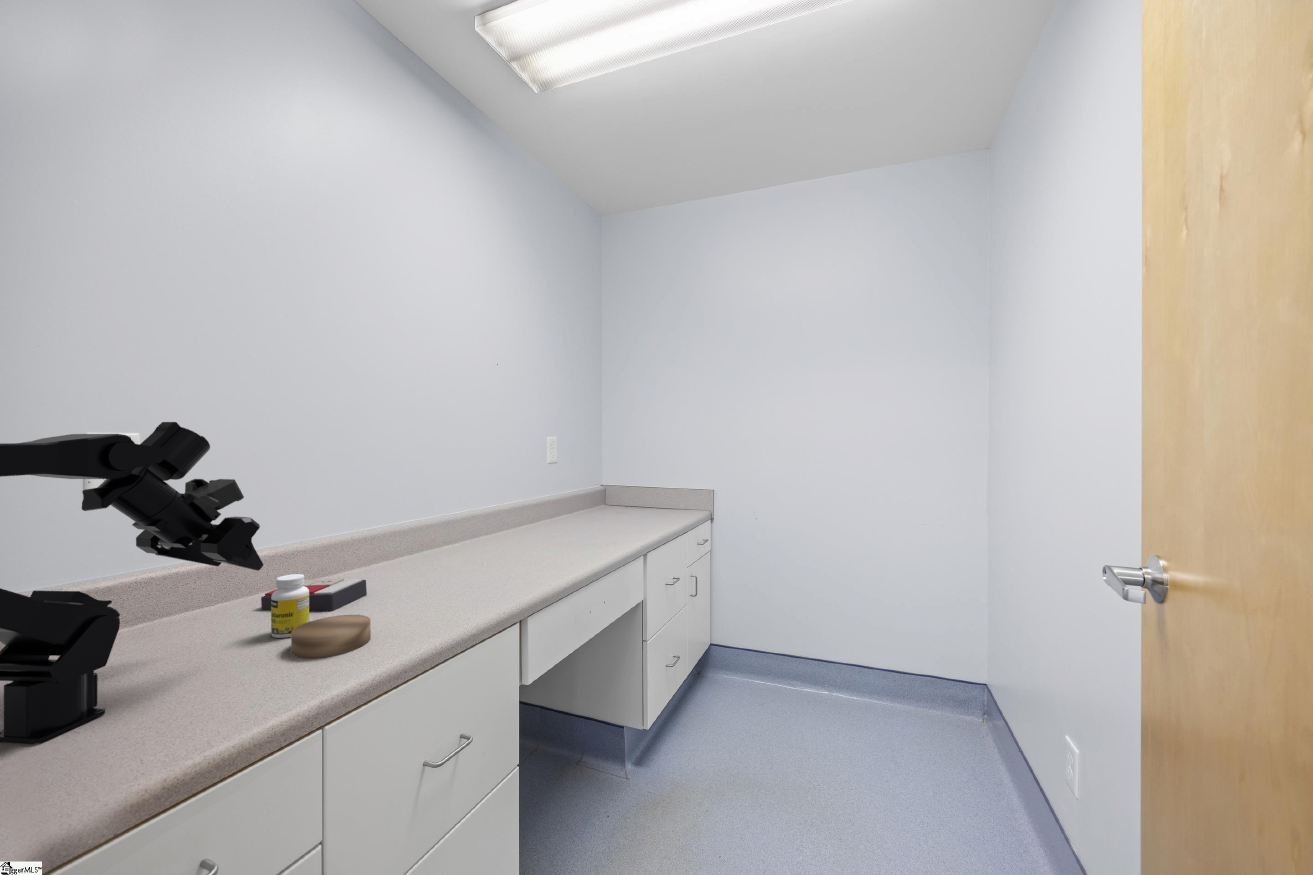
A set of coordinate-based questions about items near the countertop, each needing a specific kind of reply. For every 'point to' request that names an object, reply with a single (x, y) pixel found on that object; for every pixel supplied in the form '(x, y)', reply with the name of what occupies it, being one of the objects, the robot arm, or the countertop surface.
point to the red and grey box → (327, 593)
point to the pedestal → (330, 636)
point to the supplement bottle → (289, 605)
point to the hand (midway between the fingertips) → (240, 565)
